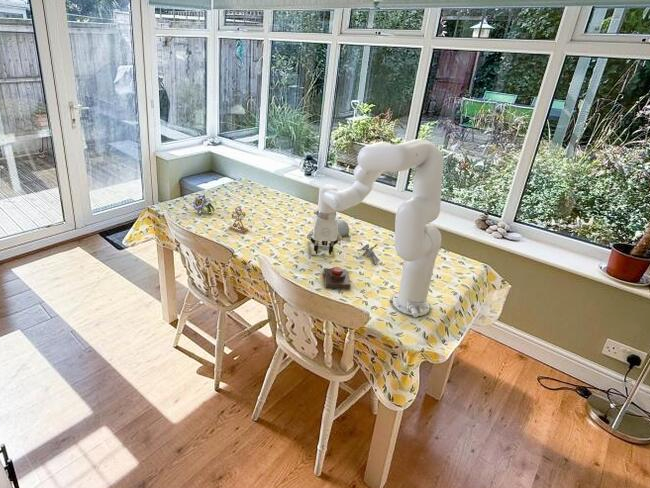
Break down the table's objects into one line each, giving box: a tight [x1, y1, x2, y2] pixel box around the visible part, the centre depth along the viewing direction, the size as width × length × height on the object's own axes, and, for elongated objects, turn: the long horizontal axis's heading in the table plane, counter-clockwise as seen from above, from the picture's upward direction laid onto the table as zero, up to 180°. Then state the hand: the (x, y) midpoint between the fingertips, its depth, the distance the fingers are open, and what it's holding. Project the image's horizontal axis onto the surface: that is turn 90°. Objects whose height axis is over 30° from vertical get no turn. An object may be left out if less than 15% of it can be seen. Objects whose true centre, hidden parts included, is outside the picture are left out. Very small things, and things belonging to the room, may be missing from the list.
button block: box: [323, 267, 351, 290], centre depth 161 cm, size 11×9×4 cm
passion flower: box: [190, 193, 218, 215], centre depth 221 cm, size 11×11×12 cm
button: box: [332, 266, 343, 275], centre depth 160 cm, size 4×4×2 cm
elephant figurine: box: [360, 243, 381, 265], centre depth 176 cm, size 10×6×9 cm
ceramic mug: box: [337, 219, 351, 241], centre depth 194 cm, size 11×8×8 cm
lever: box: [318, 241, 330, 250], centre depth 178 cm, size 12×5×2 cm
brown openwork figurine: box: [228, 206, 249, 234], centre depth 200 cm, size 9×4×12 cm, turn 55°
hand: (323, 252), depth 176 cm, fingers closed on lever, 5 cm apart
